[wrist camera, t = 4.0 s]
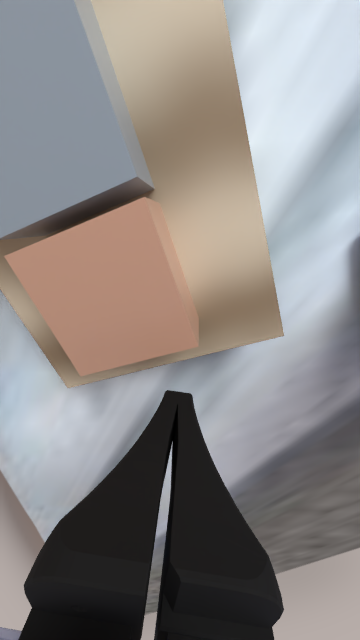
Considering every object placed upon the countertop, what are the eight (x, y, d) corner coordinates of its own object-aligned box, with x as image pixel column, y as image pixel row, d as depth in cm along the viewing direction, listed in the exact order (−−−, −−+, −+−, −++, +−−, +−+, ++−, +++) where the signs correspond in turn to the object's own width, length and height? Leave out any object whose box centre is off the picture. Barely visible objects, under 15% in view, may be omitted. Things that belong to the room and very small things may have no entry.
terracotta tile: (198, 318, 10) (198, 346, 8) (104, 344, 11) (80, 376, 9) (159, 203, 8) (144, 196, 6) (51, 247, 9) (4, 256, 7)
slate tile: (154, 189, 8) (137, 176, 6) (45, 235, 9) (-6, 240, 7) (90, -2, 6) (28, -128, 4) (-38, 84, 7) (-145, 23, 5)
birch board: (265, 311, 13) (283, 335, 10) (91, 358, 15) (67, 388, 13) (174, -132, 7) (157, -357, 4) (-85, 60, 9) (-200, -4, 7)
